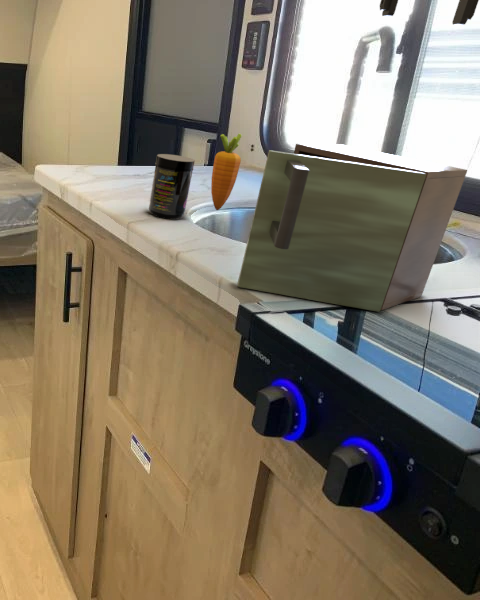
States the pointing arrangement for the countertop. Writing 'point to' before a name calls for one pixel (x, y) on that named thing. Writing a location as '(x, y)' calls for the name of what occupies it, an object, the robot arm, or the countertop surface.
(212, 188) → the carrot
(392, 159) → the cupboard
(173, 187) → the supplement container
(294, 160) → the cupboard door
